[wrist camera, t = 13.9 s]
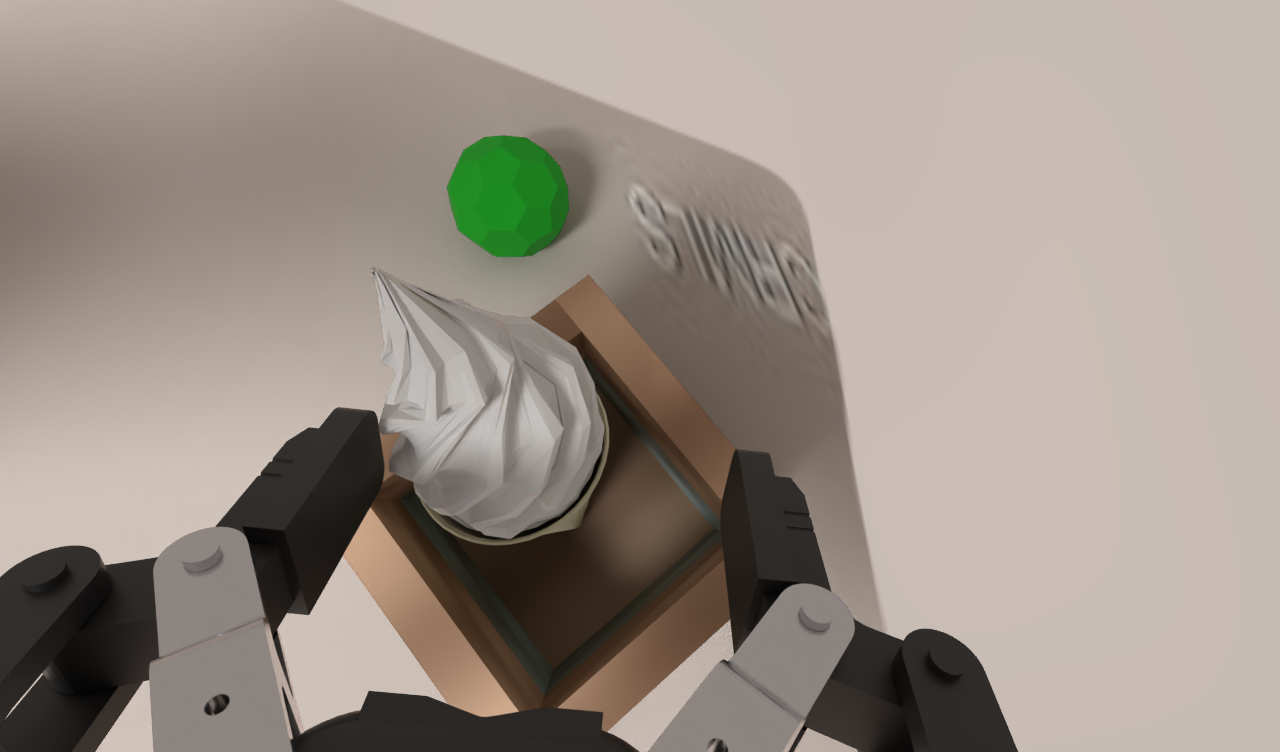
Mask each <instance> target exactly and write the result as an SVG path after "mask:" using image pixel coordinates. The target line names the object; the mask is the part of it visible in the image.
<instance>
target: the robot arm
mask: <svg viewBox="0 0 1280 752" xmlns="http://www.w3.org/2000/svg"><path fill="white" fill-rule="evenodd" d="M378 426H379V425H378V419H377V416H376V413H375V412H374V411H370V410H360V409H351V408H341V407H338V408H336V409H334V410H333V411H332V413H331V414H330V415H329V416H328V418H327V419H326V420H325V421H324V423H323V424H322V425H321V427H320V428H307V429H306V430H304V431H303V432H301V433H300V434H298V435H296V436H295V437H293V438H292V439H290V440H288V441H287V442H286V443H285V444H284V446H283V447H282V448H281V449H280V450H279V451H278V453H277V454H276V455H275V456H274V457H273V461H272V462H269V463H268V465H267V466H266V467H265V468H264V469H263V471H262V472H261V476H258V477H257V478H256V479H255V480H254V481H253V482H252V484H251V485H250V486H249V487H248V488H247V490H246V491H245V492H244V493H243V494H242V496H241V497H240V498H239V499H238V500H237V502H236V503H235V504H234V505H233V506H232V508H231V509H230V510H229V511H228V512H227V514H226V515H225V516H224V517H223V518H222V519H221V521H220V522H219V523H218V524H217V525H216V527H212V528H206V529H202V530H198V531H196V532H193V533H190V534H188V535H186V536H184V537H182V538H180V539H178V540H177V541H175V542H174V543H172V544H171V545H170V546H168V547H167V548H166V549H165V550H164V551H163V552H162V553H161V554H160V556H159V557H156V558H151V559H144V560H137V561H131V562H124V563H117V564H110V565H104V563H103V561H102V559H101V557H100V555H99V554H98V553H97V552H96V551H95V550H93V549H92V548H89V547H85V546H64V547H59V548H54V549H50V550H47V551H44V552H41V553H39V554H36V555H34V556H32V557H29V558H27V559H25V560H24V561H22V562H20V563H18V564H17V565H15V566H14V567H12V568H11V569H9V570H8V571H7V572H6V573H5V574H3V575H2V576H1V577H0V752H95V751H96V750H97V748H98V747H99V745H100V744H101V742H102V741H103V739H104V738H105V736H106V735H107V734H108V732H109V731H110V729H111V728H112V726H113V725H114V723H115V722H116V720H117V719H118V717H119V716H120V715H121V713H122V712H123V710H124V709H125V707H126V706H127V704H128V703H129V701H130V700H131V699H132V697H133V696H134V694H135V693H136V691H137V690H138V688H139V687H140V685H141V684H142V682H143V681H147V680H150V698H151V715H152V732H153V749H154V752H639V751H638V750H637V749H635V748H634V747H632V746H631V745H630V744H628V743H627V742H626V741H624V740H622V739H620V738H618V737H617V736H615V735H613V734H610V733H608V732H605V731H603V730H602V722H603V712H597V711H586V710H574V709H563V708H552V707H543V708H537V709H531V710H525V711H519V712H513V713H507V714H501V715H496V716H490V717H481V716H477V715H475V714H472V713H469V712H467V711H464V710H462V709H459V708H456V707H454V706H451V705H449V704H446V703H443V702H441V701H438V700H436V699H433V698H430V697H428V696H420V695H409V694H397V693H386V692H375V691H369V692H368V694H367V697H366V699H365V701H364V704H363V706H362V709H361V710H360V711H355V712H351V713H347V714H344V715H340V716H337V717H334V718H332V719H329V720H327V721H324V722H322V723H320V724H318V725H316V726H314V727H312V728H310V729H308V730H307V731H304V728H303V725H302V721H301V718H300V714H299V710H298V707H297V702H296V698H295V694H294V690H293V686H292V682H291V678H290V674H289V670H288V666H287V662H286V658H285V653H284V649H283V645H282V641H281V637H280V634H279V631H278V627H279V625H280V623H281V622H282V620H283V619H284V617H285V615H286V614H287V613H293V614H304V615H309V614H310V612H311V611H312V609H313V607H314V605H315V604H316V602H317V600H318V598H319V597H320V595H321V593H322V591H323V590H324V588H325V586H326V584H327V583H328V581H329V579H330V577H331V576H332V574H333V572H334V570H335V568H336V567H337V565H338V563H339V561H340V560H341V558H342V556H343V554H344V553H345V551H346V549H347V547H348V546H349V544H350V542H351V540H352V539H353V537H354V535H355V533H356V532H357V530H358V528H359V526H360V525H361V523H362V521H363V519H364V517H365V516H366V514H367V512H368V510H369V509H370V507H371V505H372V503H373V502H374V500H375V498H376V496H377V495H378V493H379V491H380V489H381V486H382V483H383V478H384V471H385V464H384V457H383V451H382V444H381V438H380V431H379V427H378ZM720 527H721V537H722V546H723V555H724V565H725V574H726V584H727V593H728V602H729V612H730V621H731V630H732V640H733V649H734V656H733V657H732V658H731V659H730V660H729V661H728V662H727V661H726V660H722V661H720V662H719V663H718V664H717V665H716V666H715V667H714V668H713V670H712V671H711V672H710V673H709V675H708V676H707V677H706V678H705V680H704V681H703V682H702V684H701V685H700V686H699V687H698V689H697V690H696V691H695V692H694V694H693V695H692V696H691V697H690V699H689V700H688V701H687V703H686V704H685V705H684V706H683V708H682V709H681V710H680V711H679V713H678V714H677V715H676V717H675V718H674V719H673V720H672V722H671V723H670V724H669V725H668V727H667V728H666V729H665V731H664V732H663V733H662V734H661V736H660V737H659V738H658V739H657V741H656V742H655V743H654V745H653V746H652V747H651V748H650V750H649V751H648V752H795V751H796V750H797V748H798V746H799V744H800V743H801V741H802V739H803V737H804V736H805V734H806V732H807V730H808V729H812V730H814V731H816V732H819V733H821V734H823V735H825V736H828V737H830V738H832V739H835V740H837V741H839V742H842V743H844V744H846V745H848V746H851V747H853V748H855V749H857V750H858V752H1018V750H1017V748H1016V746H1015V744H1014V741H1013V738H1012V736H1011V733H1010V731H1009V729H1008V726H1007V724H1006V721H1005V719H1004V716H1003V714H1002V712H1001V709H1000V707H999V704H998V702H997V700H996V697H995V695H994V692H993V690H992V687H991V685H990V683H989V680H988V678H987V675H986V673H985V671H984V668H983V666H982V665H981V663H980V661H979V660H978V659H977V657H976V656H975V655H974V654H973V652H972V651H971V650H970V649H969V648H967V647H966V646H965V645H964V644H963V643H961V642H960V641H958V640H957V639H955V638H954V637H952V636H950V635H948V634H946V633H943V632H940V631H937V630H932V629H918V630H915V631H913V632H911V633H909V634H908V635H907V636H906V638H905V639H904V641H903V640H900V639H898V638H895V637H892V636H890V635H887V634H885V633H882V632H879V631H877V630H874V629H872V628H869V627H867V626H865V625H863V624H861V623H860V622H858V621H856V620H855V619H854V618H853V616H852V614H851V612H850V610H849V609H848V607H847V606H846V605H845V603H844V602H843V601H842V600H841V599H840V598H839V597H838V596H836V595H835V594H833V593H832V591H831V589H830V585H829V582H828V578H827V575H826V571H825V568H824V564H823V560H822V557H821V553H820V550H819V546H818V543H817V539H816V535H815V533H814V532H813V530H814V528H813V525H812V521H811V518H810V517H809V510H808V507H807V503H806V500H805V496H804V494H803V493H802V492H801V491H800V489H799V488H798V487H797V485H796V484H795V483H794V482H793V480H792V479H791V478H787V477H777V476H775V475H774V470H773V466H772V462H771V457H770V455H769V453H766V452H756V451H747V450H737V449H736V450H735V451H734V453H733V457H732V461H731V465H730V469H729V473H728V477H727V481H726V486H725V490H724V494H723V498H722V503H721V513H720ZM42 673H43V675H42V676H41V678H40V679H39V680H38V681H37V682H36V684H35V685H34V686H33V687H32V688H31V690H30V691H29V692H28V693H27V694H26V696H25V697H24V698H23V699H22V700H21V702H20V703H19V704H18V705H17V706H16V708H15V709H14V710H13V711H12V712H11V713H10V715H9V716H8V717H7V715H8V713H9V712H10V711H11V709H12V708H13V707H14V706H15V704H16V703H17V702H18V701H19V700H20V698H21V697H22V696H23V695H24V694H25V693H26V691H27V690H28V689H29V688H30V687H31V685H32V684H33V683H34V682H35V681H36V679H37V678H38V677H39V676H40V675H41V674H42ZM6 717H7V718H6Z"/></svg>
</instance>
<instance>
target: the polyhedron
mask: <svg viewBox="0 0 1280 752" xmlns="http://www.w3.org/2000/svg"><path fill="white" fill-rule="evenodd" d="M447 190H448V194H449V199H450V204H451V208H452V212H453V215H454V218H455V222H456V225H457V228H458V230H459V231H460V232H461V233H463V234H464V235H465V236H467V237H468V238H469V239H470V240H472V241H473V242H474V243H476V244H477V245H479V246H480V247H482V248H483V249H485V250H486V251H487V252H489V253H490V254H492V255H493V256H496V257H523V256H532V255H534V254H535V253H537V252H538V251H540V250H541V249H543V248H544V247H546V246H547V245H549V244H550V243H551V242H552V241H553V240H554V239H555V238H556V236H557V235H558V234H559V233H560V231H561V230H562V227H563V224H564V222H565V219H566V216H567V213H568V211H569V201H568V187H567V185H566V182H565V179H564V176H563V173H562V170H561V167H560V166H559V165H558V164H557V163H556V161H555V160H554V159H553V158H552V157H551V156H550V155H549V154H548V153H547V152H546V151H545V150H544V149H542V148H541V147H539V146H538V145H536V144H535V143H533V142H532V141H530V140H529V139H527V138H524V137H513V136H503V135H502V136H492V137H484V138H482V139H481V140H479V141H477V142H476V143H474V144H473V145H471V146H469V147H468V148H466V149H464V150H463V153H462V155H461V157H460V159H459V161H458V163H457V165H456V167H455V169H454V172H453V174H452V176H451V179H450V181H449V184H448V186H447Z"/></svg>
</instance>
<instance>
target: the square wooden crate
mask: <svg viewBox="0 0 1280 752" xmlns="http://www.w3.org/2000/svg"><path fill="white" fill-rule="evenodd" d="M531 319H532V320H534V321H535V322H537V323H539V324H540V325H542V326H543V327H545V328H546V329H548V330H550V331H551V332H553V333H554V334H556V335H557V336H559V337H560V338H562V339H564V340H565V341H567V342H568V343H570V344H571V345H573V346H574V347H576V348H577V350H578V352H579V354H580V356H581V358H582V360H583V362H584V364H585V366H586V368H587V370H588V372H589V374H590V376H591V378H592V379H593V381H594V385H595V391H596V393H597V394H598V396H599V397H600V399H601V402H602V404H603V407H604V409H605V412H606V415H607V421H608V426H609V448H608V454H607V459H606V464H605V466H604V469H603V472H602V474H601V477H600V480H599V481H598V483H597V485H596V487H595V488H594V490H593V492H592V493H591V496H590V499H589V502H588V505H587V508H586V511H585V514H584V517H583V520H582V523H581V526H580V527H579V528H577V529H571V530H565V531H559V532H554V533H548V534H544V535H541V536H539V537H536V538H534V539H532V540H528V541H524V542H520V543H515V544H510V545H486V544H479V543H474V542H471V541H468V540H465V539H462V538H459V537H457V536H455V535H454V534H452V533H450V532H449V531H447V530H445V529H444V528H443V527H441V526H440V525H439V524H438V523H437V522H436V521H435V520H434V519H433V518H432V517H431V516H430V514H429V513H428V512H427V510H426V509H425V507H424V506H423V505H422V502H421V500H420V498H419V496H418V495H417V494H416V493H415V489H414V482H412V481H410V480H408V479H406V478H403V477H401V476H399V475H396V474H394V473H392V472H389V459H390V456H391V452H392V449H393V446H394V444H395V443H396V441H397V439H398V437H399V435H400V433H391V434H381V432H380V438H381V444H382V451H383V457H384V464H385V471H384V478H383V483H382V486H381V489H380V491H379V493H378V495H377V496H376V498H375V500H374V502H373V503H372V505H371V507H370V509H369V510H368V512H367V514H366V516H365V517H364V519H363V521H362V523H361V525H360V526H359V528H358V530H357V532H356V533H355V535H354V537H353V539H352V540H351V542H350V544H349V546H348V547H347V549H346V551H345V553H344V554H343V556H344V558H345V559H346V560H347V562H348V563H349V565H350V566H351V567H352V569H353V570H354V572H355V573H356V575H357V576H358V577H359V579H360V580H361V582H362V583H363V584H364V586H365V587H366V589H367V590H368V591H369V593H370V594H371V596H372V597H373V599H374V600H375V601H376V603H377V604H378V606H379V607H380V608H381V610H382V611H383V613H384V614H385V615H386V617H387V618H388V620H389V621H390V623H391V624H392V625H393V627H394V628H395V630H396V631H397V632H398V634H399V635H400V637H401V638H402V639H403V641H404V642H405V644H406V645H407V647H408V648H409V649H410V651H411V652H412V654H413V655H414V656H415V658H416V659H417V661H418V662H419V663H420V665H421V666H422V668H423V669H424V671H425V672H426V673H427V675H428V676H429V678H430V679H431V680H432V682H433V683H434V685H435V686H436V687H437V689H438V690H439V692H440V693H441V695H442V696H443V697H444V699H445V700H446V702H447V703H448V704H449V705H451V706H454V707H456V708H459V709H462V710H464V711H467V712H469V713H472V714H475V715H477V716H481V717H490V716H496V715H501V714H507V713H513V712H519V711H525V710H531V709H537V708H543V707H552V708H563V709H574V710H586V711H597V712H603V722H602V730H603V731H605V732H607V731H608V730H609V729H610V728H612V727H613V726H614V725H615V724H616V723H617V722H618V721H619V720H620V719H621V718H622V717H624V716H625V715H626V714H627V713H628V712H629V711H630V710H631V709H632V708H633V707H634V706H636V705H637V704H638V703H639V702H640V701H641V700H642V699H643V698H644V697H645V696H647V695H648V694H649V693H650V692H651V691H652V690H653V689H654V688H655V687H656V686H657V685H659V684H660V683H661V682H662V681H663V680H664V679H665V678H666V677H667V676H668V675H669V674H671V673H672V672H673V671H674V670H675V669H676V668H677V667H678V666H679V665H680V664H682V663H683V662H684V661H685V660H686V659H687V658H688V657H689V656H690V655H691V654H692V653H694V652H695V651H696V650H697V649H698V648H699V647H700V646H701V645H702V644H703V643H704V642H706V641H707V640H708V639H709V638H710V637H711V636H712V635H713V634H714V633H715V632H717V631H718V630H719V629H720V628H721V627H722V626H723V625H724V624H725V623H726V622H727V621H729V620H730V612H729V602H728V593H727V584H726V574H725V565H724V555H723V546H722V537H721V527H720V513H721V503H722V498H723V494H724V490H725V486H726V481H727V477H728V473H729V469H730V465H731V461H732V457H733V453H734V451H735V450H736V449H735V448H734V446H733V445H732V444H731V443H730V442H729V440H728V439H727V438H726V437H725V436H724V435H723V433H722V432H721V431H720V430H719V429H718V427H717V426H716V425H715V424H714V423H713V421H712V420H711V419H710V418H709V417H708V416H707V414H706V413H705V412H704V411H703V410H702V408H701V407H700V406H699V405H698V404H697V402H696V401H695V400H694V399H693V398H692V397H691V395H690V394H689V393H688V392H687V391H686V389H685V388H684V387H683V386H682V385H681V384H680V382H679V381H678V380H677V379H676V378H675V376H674V375H673V374H672V373H671V372H670V370H669V369H668V368H667V367H666V366H665V365H664V363H663V362H662V361H661V360H660V359H659V357H658V356H657V355H656V354H655V353H654V351H653V350H652V349H651V348H650V347H649V346H648V344H647V343H646V342H645V341H644V340H643V338H642V337H641V336H640V335H639V334H638V333H637V331H636V330H635V329H634V328H633V327H632V325H631V324H630V323H629V322H628V321H627V319H626V318H625V317H624V316H623V315H622V314H621V312H620V311H619V310H618V309H617V308H616V306H615V305H614V304H613V303H612V302H611V300H610V299H609V298H608V297H607V296H606V295H605V293H604V292H603V291H602V290H601V289H600V287H599V286H598V285H597V284H596V283H595V282H594V280H593V279H592V278H591V277H590V276H589V275H588V276H586V277H585V278H584V279H582V280H581V281H580V282H578V283H577V284H575V285H574V286H573V287H571V288H570V289H569V290H567V291H566V292H565V293H563V294H562V295H561V296H559V297H558V298H557V299H555V300H554V301H553V302H551V303H550V304H548V305H547V306H546V307H544V308H543V309H542V310H540V311H539V312H538V313H536V314H535V315H534V316H532V317H531ZM379 431H380V430H379Z"/></svg>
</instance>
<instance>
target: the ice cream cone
mask: <svg viewBox="0 0 1280 752" xmlns="http://www.w3.org/2000/svg"><path fill="white" fill-rule="evenodd" d="M373 268H374V267H373ZM370 269H371V268H370ZM371 270H372V272H371V274H372V276H373V279H374V281H375V284H376V288H377V296H378V303H379V311H380V318H381V326H382V333H383V340H384V348H383V351H382V353H381V356H380V364H382V365H387V366H389V367H390V368H392V369H393V370H394V373H395V378H394V380H393V382H392V384H391V387H390V389H389V391H388V393H387V396H386V402H385V405H384V409H383V412H382V416H381V419H380V422H379V426H378V427H379V430H380V432H381V434H391V433H400V435H399V437H398V439H397V441H396V443H395V444H394V446H393V449H392V452H391V456H390V459H389V472H392V473H394V474H396V475H399V476H401V477H403V478H406V479H408V480H410V481H412V482H414V489H415V493H416V494H417V495H418V496H419V498H420V500H421V502H422V505H423V506H424V507H425V509H426V510H427V512H428V513H429V514H430V516H431V517H432V518H433V519H434V520H435V521H436V522H437V523H438V524H439V525H440V526H441V527H443V528H444V529H445V530H447V531H449V532H450V533H452V534H454V535H455V536H457V537H459V538H462V539H465V540H468V541H471V542H474V543H479V544H486V545H510V544H515V543H520V542H524V541H528V540H532V539H534V538H536V537H539V536H541V535H544V534H548V533H554V532H559V531H565V530H571V529H577V528H579V527H580V526H581V523H582V520H583V517H584V514H585V511H586V508H587V505H588V502H589V499H590V496H591V493H592V492H593V490H594V488H595V487H596V485H597V483H598V481H599V480H600V477H601V474H602V472H603V469H604V466H605V464H606V459H607V454H608V448H609V426H608V421H607V415H606V412H605V409H604V407H603V404H602V402H601V399H600V397H599V396H598V394H597V393H596V391H595V385H594V381H593V379H592V378H591V376H590V374H589V372H588V370H587V368H586V366H585V364H584V362H583V360H582V358H581V356H580V354H579V352H578V350H577V348H576V347H574V346H573V345H571V344H570V343H568V342H567V341H565V340H564V339H562V338H560V337H559V336H557V335H556V334H554V333H553V332H551V331H550V330H548V329H546V328H545V327H543V326H542V325H540V324H539V323H537V322H535V321H534V320H532V319H531V318H529V317H524V318H517V317H514V316H501V315H499V314H496V313H492V312H489V311H485V310H482V309H479V308H475V307H473V306H471V305H470V304H468V303H467V302H465V301H463V300H462V299H461V300H449V299H447V298H444V297H442V296H439V295H436V294H434V293H431V292H429V291H426V290H424V289H421V288H419V287H416V286H414V285H411V284H409V283H406V282H404V281H402V280H400V279H398V278H396V277H394V276H392V275H390V274H388V273H386V272H384V271H382V270H380V269H376V268H374V269H371Z"/></svg>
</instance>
